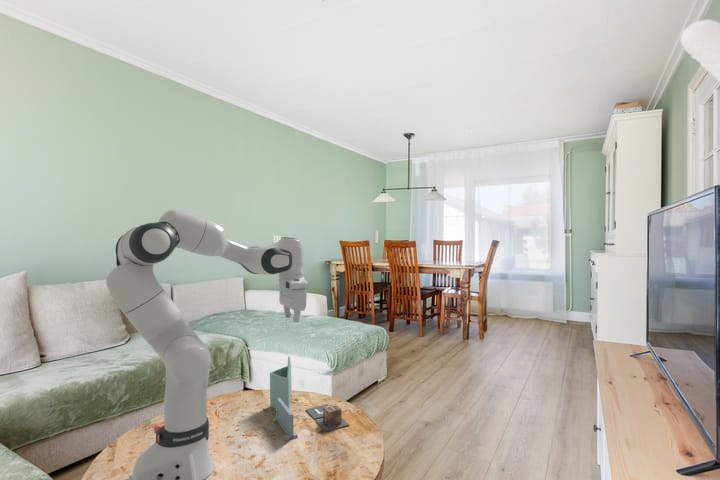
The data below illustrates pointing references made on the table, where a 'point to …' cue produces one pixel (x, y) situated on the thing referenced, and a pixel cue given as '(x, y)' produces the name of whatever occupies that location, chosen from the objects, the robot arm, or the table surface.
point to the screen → (285, 419)
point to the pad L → (316, 411)
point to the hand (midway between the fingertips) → (291, 319)
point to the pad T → (326, 428)
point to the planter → (281, 385)
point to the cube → (332, 415)
